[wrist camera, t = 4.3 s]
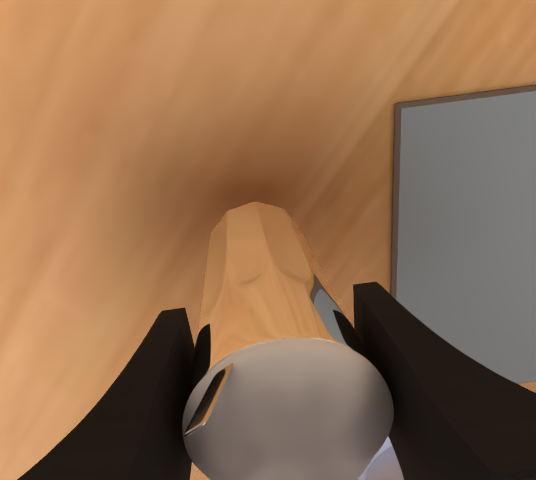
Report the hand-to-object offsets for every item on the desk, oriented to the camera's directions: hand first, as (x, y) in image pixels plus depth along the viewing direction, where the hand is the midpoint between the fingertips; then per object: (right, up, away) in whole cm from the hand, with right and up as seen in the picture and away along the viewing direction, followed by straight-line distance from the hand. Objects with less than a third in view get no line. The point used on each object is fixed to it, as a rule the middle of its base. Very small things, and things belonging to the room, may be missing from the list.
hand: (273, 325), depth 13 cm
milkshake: (-1, +3, +4) cm, 5 cm away
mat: (+14, +2, +10) cm, 17 cm away
